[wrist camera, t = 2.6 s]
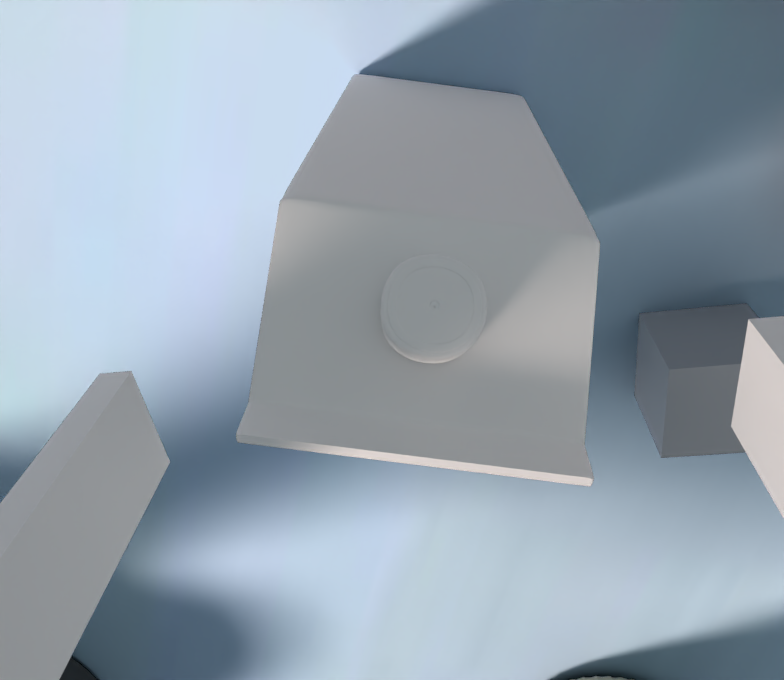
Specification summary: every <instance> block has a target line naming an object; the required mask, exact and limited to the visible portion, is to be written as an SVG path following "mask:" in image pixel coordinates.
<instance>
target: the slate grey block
mask: <svg viewBox="0 0 784 680" xmlns="http://www.w3.org/2000/svg"><path fill="white" fill-rule="evenodd" d="M755 318H759V317H758V316H757V315H756V314H755V313H754V311H753V310H752V309H751V308H750V307H749V306H748V304H747V303H745V304H734V305H723V306H712V307H701V308H691V309H680V310H669V311H658V312H647V313H639V325H638V342H637V359H636V375H635V392H634V395H635V398H636V400H637V402H638V405H639V407H640V409H641V412H642V414H643V416H644V419H645V421H646V423H647V426H648V428H649V430H650V433H651V435H652V437H653V440H654V442H655V444H656V447H657V449H658V451H659V454H660V456H661V458H667V457H682V456H697V455H712V454H727V453H743V452H745V450H744V448H743V446H742V445H741V443H740V441H739V439H738V438H737V436H736V434H735V432H734V431H733V429H732V427H731V423H732V417H733V411H734V405H735V398H736V392H737V386H738V380H739V374H740V368H741V362H742V356H743V349H744V343H745V337H746V331H747V325H748V319H755Z"/></svg>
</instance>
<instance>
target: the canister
mask: <svg viewBox="0 0 784 680" xmlns="http://www.w3.org/2000/svg"><path fill="white" fill-rule="evenodd" d="M570 680H634V679H624V678H622V677H617V678H614V677H610V676H605V677H599V676H594V677H582V678H579V679H570Z"/></svg>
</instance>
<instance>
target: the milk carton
mask: <svg viewBox="0 0 784 680" xmlns="http://www.w3.org/2000/svg"><path fill="white" fill-rule="evenodd" d="M599 252H600V242H599V240H598V238H597V236H596V233H595V231H594V229H593V227H592V225H591V223H590V221H589V219H588V217H587V216H586V214H585V212H584V210H583V208H582V206H581V204H580V202H579V200H578V199H577V197H576V195H575V193H574V191H573V189H572V187H571V185H570V184H569V182H568V180H567V178H566V176H565V174H564V172H563V170H562V168H561V167H560V165H559V163H558V161H557V159H556V157H555V155H554V153H553V152H552V150H551V148H550V146H549V144H548V142H547V140H546V138H545V136H544V135H543V133H542V131H541V129H540V127H539V125H538V123H537V121H536V120H535V118H534V116H533V114H532V112H531V110H530V108H529V106H528V104H527V103H526V101H525V99H524V98H523V97H522V96H520V95H515V94H509V93H502V92H495V91H487V90H479V89H472V88H464V87H456V86H449V85H441V84H434V83H426V82H418V81H411V80H403V79H396V78H388V77H380V76H372V75H364V74H355V75H354V76H353V77H352V78H351V80H350V82H349V83H348V85H347V87H346V89H345V90H344V92H343V94H342V95H341V97H340V99H339V101H338V102H337V104H336V106H335V107H334V109H333V111H332V113H331V114H330V116H329V118H328V119H327V121H326V123H325V125H324V126H323V128H322V130H321V131H320V133H319V135H318V137H317V138H316V140H315V142H314V143H313V145H312V147H311V149H310V150H309V152H308V154H307V155H306V157H305V159H304V161H303V162H302V164H301V166H300V167H299V169H298V171H297V173H296V174H295V176H294V178H293V179H292V181H291V183H290V185H289V187H288V188H287V190H286V192H285V194H284V196H283V198H282V199H281V200H280V204H279V210H278V216H277V222H276V229H275V235H274V241H273V248H272V254H271V261H270V267H269V273H268V280H267V286H266V292H265V299H264V305H263V312H262V318H261V324H260V331H259V337H258V343H257V350H256V356H255V362H254V369H253V375H252V382H251V388H250V394H249V401H248V405H247V407H246V410H245V412H244V415H243V417H242V420H241V422H240V425H239V427H238V430H237V432H236V440H237V442H238V443H245V444H253V445H261V446H269V447H277V448H285V449H294V450H302V451H310V452H318V453H326V454H334V455H342V456H350V457H358V458H366V459H374V460H382V461H390V462H398V463H406V464H414V465H422V466H430V467H438V468H446V469H454V470H462V471H470V472H478V473H486V474H494V475H502V476H510V477H518V478H526V479H534V480H542V481H550V482H558V483H566V484H574V485H582V486H591V485H592V483H593V481H594V476H593V472H592V469H591V465H590V462H589V459H588V455H587V452H586V448H585V434H586V421H587V408H588V395H589V382H590V369H591V356H592V343H593V330H594V318H595V305H596V292H597V279H598V266H599Z"/></svg>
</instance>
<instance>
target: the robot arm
mask: <svg viewBox="0 0 784 680" xmlns="http://www.w3.org/2000/svg"><path fill="white" fill-rule="evenodd" d="M731 427H732V429H733V431H734V432H735V434H736V436H737V438H738V439H739V441H740V443H741V445H742V446H743V448H744V450H745V452H746V453H747V455H748V457H749V459H750V460H751V462H752V464H753V466H754V467H755V469H756V471H757V473H758V474H759V476H760V478H761V480H762V481H763V483H764V485H765V487H766V488H767V490H768V492H769V494H770V495H771V497H772V499H773V501H774V502H775V504H776V506H777V508H778V510H779V511H780V513H781V515H782V517H783V518H784V316H779V317H767V318H755V319H748V325H747V331H746V337H745V343H744V349H743V356H742V362H741V368H740V374H739V380H738V386H737V392H736V398H735V405H734V411H733V417H732V423H731ZM169 464H170V460H169V458H168V456H167V453H166V451H165V449H164V446H163V444H162V442H161V439H160V437H159V435H158V432H157V430H156V428H155V425H154V423H153V421H152V418H151V416H150V414H149V411H148V409H147V407H146V404H145V402H144V400H143V397H142V395H141V393H140V390H139V388H138V386H137V383H136V381H135V378H134V376H133V374H132V371H125V372H113V373H101V374H99V375H98V377H97V378H96V379H95V380H94V382H93V383H92V384H91V386H90V387H89V388H88V390H87V391H86V392H85V393H84V395H83V396H82V397H81V399H80V400H79V401H78V403H77V404H76V405H75V407H74V408H73V409H72V410H71V412H70V413H69V414H68V416H67V417H66V418H65V420H64V421H63V422H62V423H61V425H60V426H59V427H58V429H57V430H56V431H55V433H54V434H53V435H52V437H51V438H50V439H49V440H48V442H47V443H46V444H45V446H44V447H43V448H42V450H41V451H40V452H39V453H38V455H37V456H36V457H35V459H34V460H33V461H32V463H31V464H30V465H29V467H28V468H27V469H26V470H25V472H24V473H23V474H22V476H21V477H20V478H19V480H18V481H17V482H16V483H15V485H14V486H13V487H12V489H11V490H10V491H9V493H8V494H7V495H6V496H5V498H4V499H3V500H2V502H1V503H0V680H96V679H95V677H94V676H93V675H92V674H91V673H90V672H89V671H88V670H87V669H86V668H84V667H83V666H82V665H81V664H79V663H78V662H77V661H75V660H74V659H72V658H71V656H72V654H73V652H74V650H75V648H76V646H77V644H78V642H79V640H80V638H81V636H82V634H83V632H84V630H85V628H86V626H87V624H88V622H89V620H90V619H91V617H92V615H93V613H94V611H95V609H96V607H97V605H98V603H99V601H100V599H101V597H102V595H103V593H104V591H105V589H106V587H107V585H108V583H109V581H110V579H111V577H112V575H113V573H114V571H115V569H116V568H117V566H118V564H119V562H120V560H121V558H122V556H123V554H124V552H125V550H126V548H127V546H128V544H129V542H130V540H131V538H132V536H133V534H134V532H135V530H136V528H137V526H138V524H139V522H140V520H141V518H142V517H143V515H144V513H145V511H146V509H147V507H148V505H149V503H150V501H151V499H152V497H153V495H154V493H155V491H156V489H157V487H158V485H159V483H160V481H161V479H162V477H163V475H164V473H165V471H166V469H167V467H168V466H169Z"/></svg>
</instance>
